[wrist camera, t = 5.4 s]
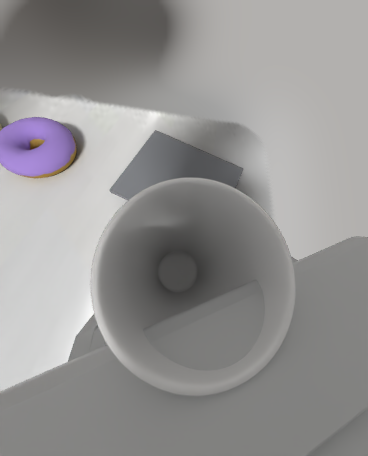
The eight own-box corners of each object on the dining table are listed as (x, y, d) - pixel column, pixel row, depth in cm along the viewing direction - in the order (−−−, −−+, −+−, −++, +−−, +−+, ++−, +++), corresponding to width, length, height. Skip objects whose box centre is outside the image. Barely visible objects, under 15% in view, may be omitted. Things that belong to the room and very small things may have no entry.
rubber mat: (111, 192, 21) (109, 190, 21) (155, 133, 26) (155, 130, 25) (213, 240, 20) (215, 239, 20) (241, 171, 25) (243, 168, 24)
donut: (47, 193, 20) (5, 166, 16) (12, 173, 23) (-33, 145, 18) (95, 149, 23) (71, 115, 19) (60, 135, 26) (31, 103, 21)
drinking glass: (144, 255, 19) (67, 201, 5) (191, 239, 20) (241, 156, 6) (160, 308, 17) (114, 476, 3) (210, 286, 18) (344, 329, 4)
